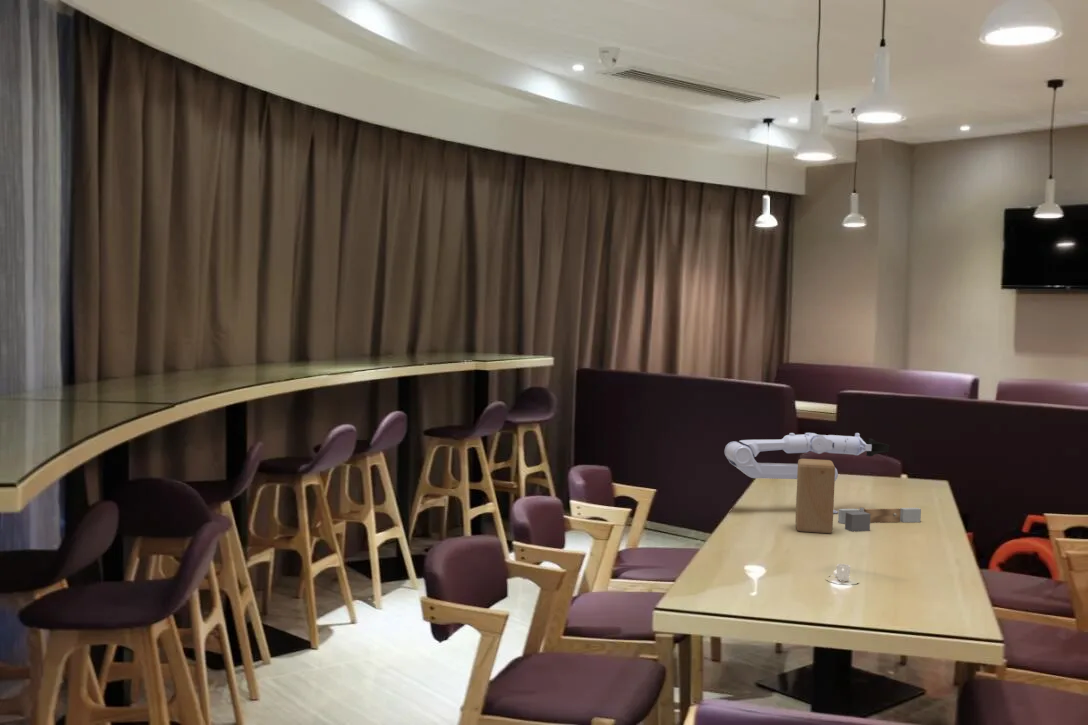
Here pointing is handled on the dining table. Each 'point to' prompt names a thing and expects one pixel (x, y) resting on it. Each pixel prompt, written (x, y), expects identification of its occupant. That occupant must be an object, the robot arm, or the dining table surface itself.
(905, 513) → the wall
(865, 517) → the grey rectangular block
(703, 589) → the dining table surface
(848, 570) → the teacup and saucer
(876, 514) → the door
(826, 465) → the wooden block
